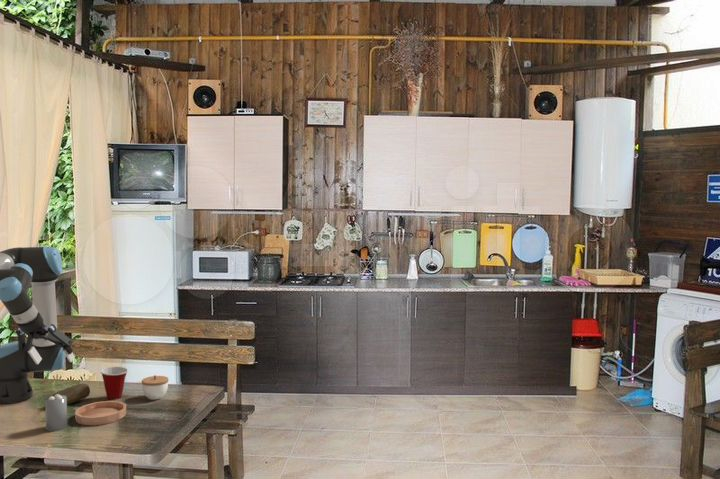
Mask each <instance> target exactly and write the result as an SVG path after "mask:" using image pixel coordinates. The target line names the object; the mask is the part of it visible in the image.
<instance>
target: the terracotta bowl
mask: <svg viewBox="0 0 720 479" xmlns="http://www.w3.org/2000/svg"><path fill="white" fill-rule="evenodd" d="M126 416H127V404H126V403H124V402H122V401H118V400H116V401H115V400H106V401H95V402H92V403H88V404H84V405H81V406H80V407H78V408H76V409H75V412H74V418H75V422H76V423H77V424H79V425H83V426H102V425H109V424H111V423H114V422H118V421H119V420H122V419H123V418H125V417H126Z"/></svg>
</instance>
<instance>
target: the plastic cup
mask: <svg viewBox="0 0 720 479" xmlns="http://www.w3.org/2000/svg"><path fill="white" fill-rule="evenodd" d="M128 372H129V369H128V368H126V367H125V366H124V367H123V366H109V367H105V368H102V369H100V374H101V375H102V380H103V386H104V389H105V393H106V394H105V395H106V398H107V399H108V400H118V399H121V398H122V397H123V390H124V387H125V382H126V381H125V380H126V376H127V373H128Z"/></svg>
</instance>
